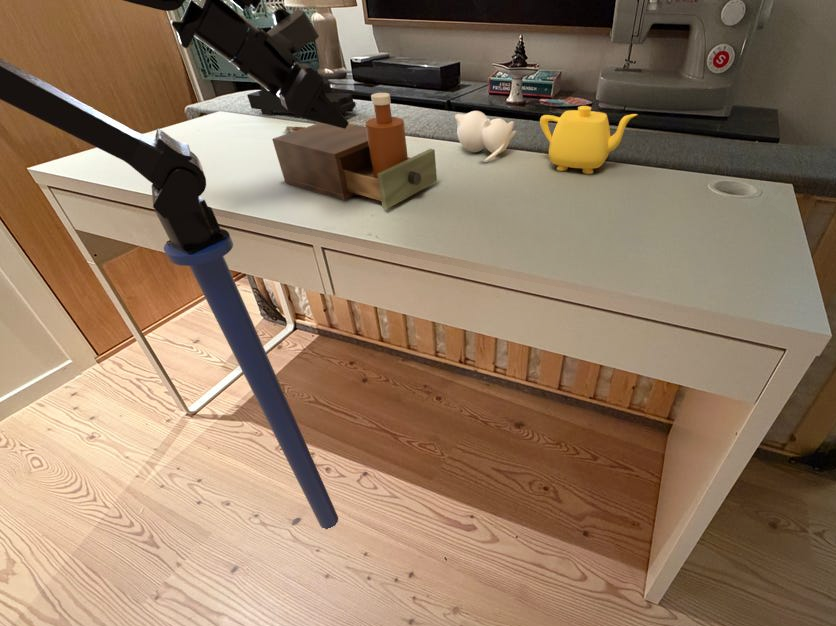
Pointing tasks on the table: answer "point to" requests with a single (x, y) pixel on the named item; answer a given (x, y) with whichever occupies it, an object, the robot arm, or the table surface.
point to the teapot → (582, 138)
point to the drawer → (389, 176)
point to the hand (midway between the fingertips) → (337, 118)
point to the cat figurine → (483, 133)
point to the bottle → (385, 136)
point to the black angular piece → (273, 103)
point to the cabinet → (319, 157)
